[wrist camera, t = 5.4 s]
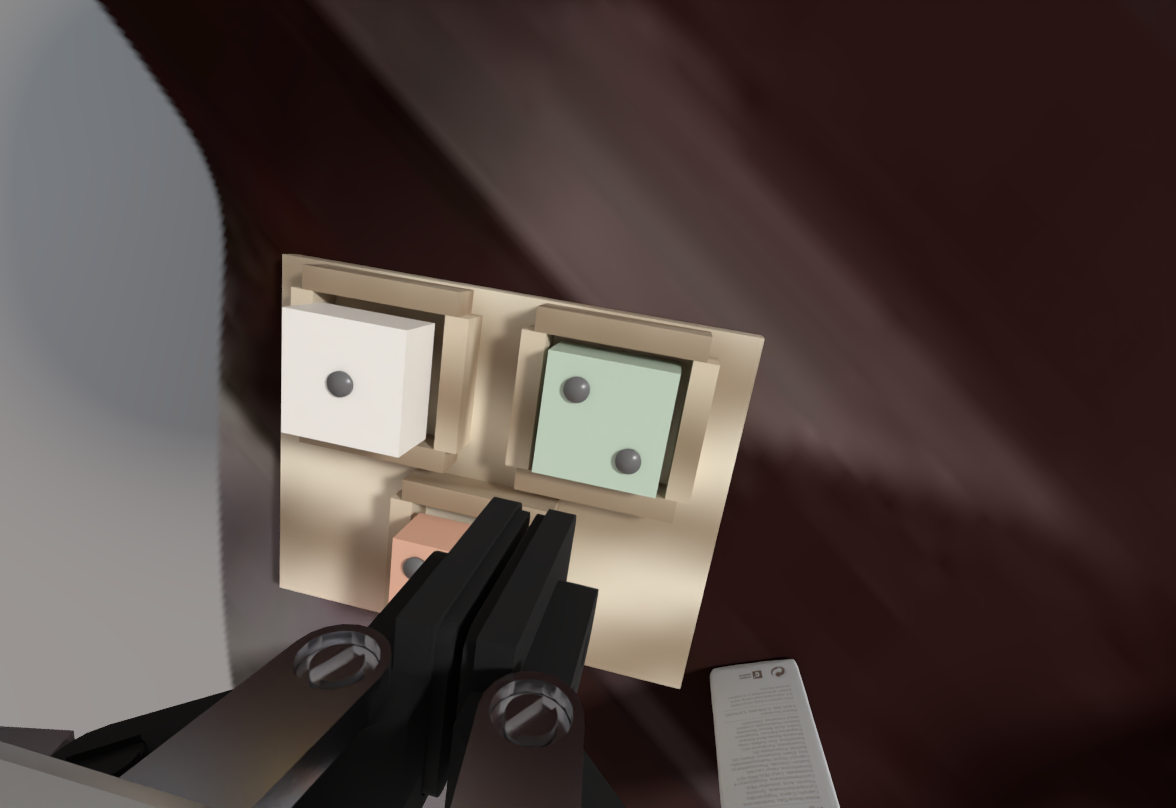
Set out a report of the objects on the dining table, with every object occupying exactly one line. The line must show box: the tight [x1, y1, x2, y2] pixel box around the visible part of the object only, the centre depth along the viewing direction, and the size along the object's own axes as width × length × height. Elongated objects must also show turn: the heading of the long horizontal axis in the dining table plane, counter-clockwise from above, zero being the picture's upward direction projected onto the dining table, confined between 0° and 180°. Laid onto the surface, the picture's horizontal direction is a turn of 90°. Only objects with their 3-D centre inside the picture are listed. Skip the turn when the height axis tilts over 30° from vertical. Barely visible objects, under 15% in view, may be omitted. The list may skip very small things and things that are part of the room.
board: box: [280, 254, 764, 689], centre depth 26 cm, size 17×21×3 cm
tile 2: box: [532, 341, 682, 498], centre depth 23 cm, size 5×5×3 cm
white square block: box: [281, 302, 435, 458], centre depth 23 cm, size 5×5×3 cm
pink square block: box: [388, 513, 471, 603], centre depth 24 cm, size 5×5×3 cm
